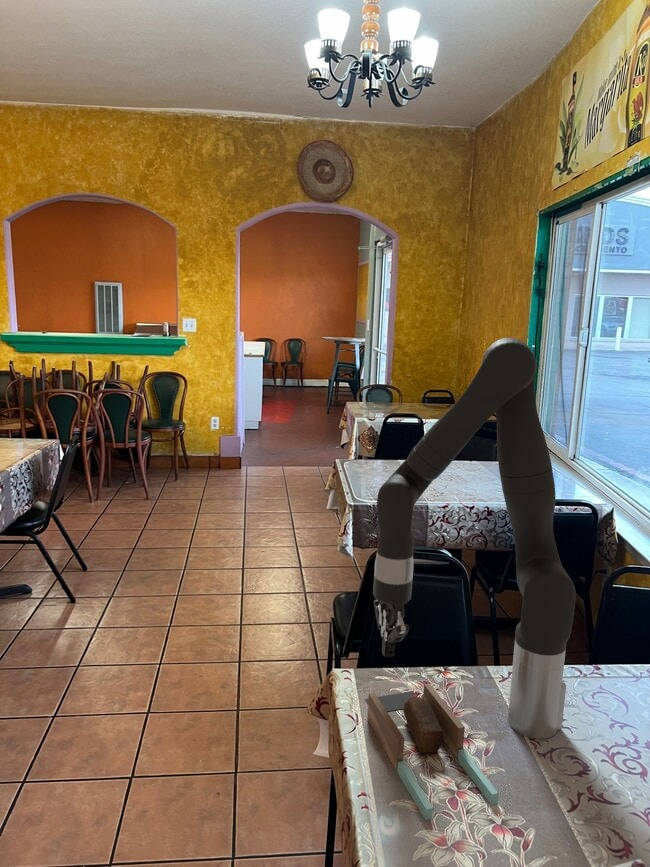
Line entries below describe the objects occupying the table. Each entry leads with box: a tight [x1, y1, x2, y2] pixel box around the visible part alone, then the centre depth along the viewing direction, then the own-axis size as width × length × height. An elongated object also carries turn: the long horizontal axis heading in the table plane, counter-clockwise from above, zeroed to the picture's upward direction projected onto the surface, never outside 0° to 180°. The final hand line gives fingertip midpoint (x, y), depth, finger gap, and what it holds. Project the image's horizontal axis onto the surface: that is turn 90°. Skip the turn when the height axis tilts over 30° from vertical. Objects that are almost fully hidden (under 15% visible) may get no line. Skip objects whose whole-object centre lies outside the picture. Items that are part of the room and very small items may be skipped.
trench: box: [366, 683, 466, 771], centre depth 119 cm, size 13×14×6 cm
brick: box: [403, 696, 443, 754], centre depth 120 cm, size 11×4×5 cm, turn 10°
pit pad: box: [364, 691, 414, 713], centre depth 130 cm, size 10×5×1 cm, turn 107°
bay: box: [396, 748, 499, 821], centre depth 107 cm, size 13×11×2 cm
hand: (387, 655), depth 129 cm, fingers closed
